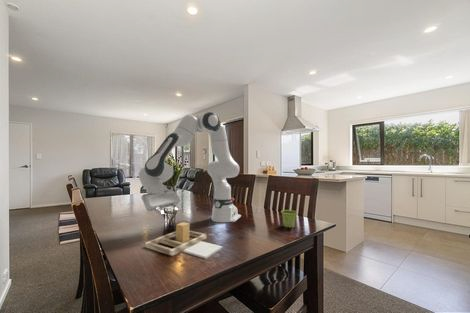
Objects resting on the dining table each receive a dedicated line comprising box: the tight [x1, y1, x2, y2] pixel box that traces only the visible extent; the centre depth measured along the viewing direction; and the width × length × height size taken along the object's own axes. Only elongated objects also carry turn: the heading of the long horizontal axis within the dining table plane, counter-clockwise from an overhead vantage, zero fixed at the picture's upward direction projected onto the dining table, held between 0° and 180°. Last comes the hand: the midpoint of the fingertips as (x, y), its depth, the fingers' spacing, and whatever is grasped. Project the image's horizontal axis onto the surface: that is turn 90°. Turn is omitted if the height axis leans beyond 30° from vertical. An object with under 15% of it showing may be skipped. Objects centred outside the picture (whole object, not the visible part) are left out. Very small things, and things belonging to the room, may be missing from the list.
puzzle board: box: [144, 230, 208, 256], centre depth 101 cm, size 23×17×2 cm
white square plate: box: [182, 240, 223, 260], centre depth 93 cm, size 12×12×1 cm
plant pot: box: [280, 209, 298, 229], centre depth 127 cm, size 9×9×9 cm
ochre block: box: [175, 221, 191, 243], centre depth 105 cm, size 4×4×8 cm
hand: (169, 213), depth 109 cm, fingers open, 8 cm apart
